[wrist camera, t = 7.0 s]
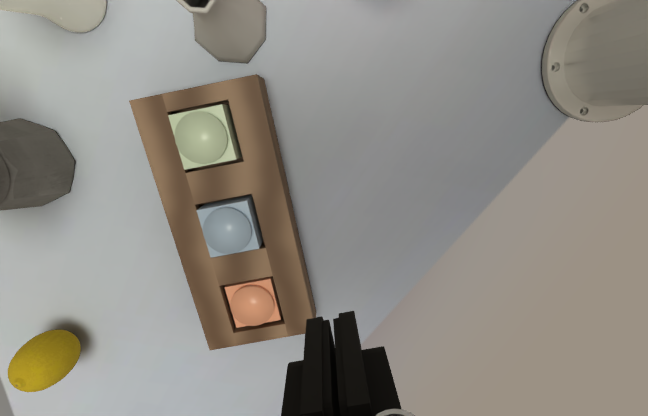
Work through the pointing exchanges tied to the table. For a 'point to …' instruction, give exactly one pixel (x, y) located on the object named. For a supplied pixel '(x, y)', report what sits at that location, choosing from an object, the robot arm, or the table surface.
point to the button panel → (222, 184)
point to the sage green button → (205, 136)
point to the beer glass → (62, 12)
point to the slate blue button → (230, 226)
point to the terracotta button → (254, 302)
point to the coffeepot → (32, 165)
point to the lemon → (44, 360)
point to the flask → (228, 27)
